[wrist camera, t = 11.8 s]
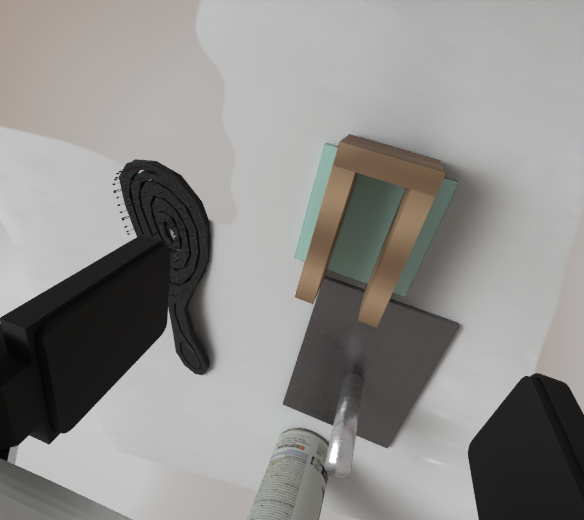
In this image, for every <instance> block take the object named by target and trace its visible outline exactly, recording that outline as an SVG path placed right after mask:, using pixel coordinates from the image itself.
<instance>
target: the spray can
mask: <svg viewBox="0 0 584 520" xmlns="http://www.w3.org/2000/svg"><path fill="white" fill-rule="evenodd" d="M328 447H329V445H328V443H327V442H326V441H325V440H324V439H323V438H322V437H321V436H319V435H317V434H316V433H314V432H312V431H309V430H306V429H290V430H287V431H285V432H284V433H283V434H282V435H281V437H280V438H279V440H278V442H277V444H276V447H275V449H274V452H273V455H272V457H271V460H270V462H269V465H268V467H267V470H266V473H265V475H264V478H263V480H262V483H261V486H260V488H259V491H258V493H257V496H256V498H255V501H254V504H253V506H252V509H251V511H250V514H249V517H248V519H247V520H319V516H320V512H321V507H322V503H323V498H324V493H325V488H326V483H327V480H328V475H329V474H328V473H327V472H326V470H325V468H324V464H325V460H326V455H327V451H328Z"/></svg>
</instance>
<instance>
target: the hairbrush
mask: <svg viewBox="0 0 584 520" xmlns="http://www.w3.org/2000/svg"><path fill="white" fill-rule="evenodd" d="M140 170H144V171H143V172H141V173H139V174H138V172H139V171H140ZM119 172H121V174H120V176H119V180H120V184H121V189H122V190H121V189H120V190H121V191H122V193H123V198H124V202H125V206H126V209H127V210H126V211H128V214H129V216H130V219H131V222H132V224H133V228H134V230H135V232H136V235H137V237H138V236H140V235H143V234H147V235H149V236H152V237H155V238H158V239H161V240H164V241H165V242H166V245H167V248H169V249H170V250H171V261H170V279H169V296H168V308H169V313H170V318H171V324H172V329H173V335H174V341H175V348H176V352H177V354H178V356H179V357H180V359H181V360H182V362H183V364H184V365H185V366H186V367H187V368H189V369H190V370H191V371H192V372H194V373H195V374H199V375H203V374H204V373H205V372H206V369H207V366H208V367H209V360H208V357H207V355H206V352H205V350H204V348H203V346H202V344H201V343H200V341H199V339H198V337H197V335H196V334H195V332H194V328H193V324H192V320H191V317H190V313H189V309H188V304H189V302H190V299H191V297H192V294H193V292H194V289H195V288H196V286H197V285H198V283H199V281H200V280H201V278H202V277H203V276H202V275H204V274H203V273H205V272H204V271H206V269H205V268H206V267H207V264H208V262H209V253H210V231H209V229H210V227H209V222H208V217H207V214H206V211H205V209H204V206H203V203H202V201H201V200H200V199H199V197H198V196H197V195H196V194H195V192H194V191H193V190H192V189H191V187H190V186H189V185H188V183H187V182H186V181H185V180H184V178H183V177H182V176H181V175H180V174H178V173H176V172H174V171H173V170H171V169H169V168H167V167H166V166H164V165H162V164H160V163H159V162H157V161H147V160H134V161H132V162H130V163H127V164H126V165H125V167H124V169H123V170H122V171H119ZM116 174H119V173H116ZM115 178H116V179H114V180H115V181H116V180H117V178H118V177H115ZM150 179H152V180H151V181H147V180H150ZM146 181H147V182H146ZM113 185H115V184H113ZM116 191H117V192H118V190H114V193H116ZM156 196H158V197H156ZM121 197H122V196H121ZM116 198H119V197H116ZM123 204H124V203H123ZM120 205H121V204H118V206H120ZM120 213H122V212H120ZM129 216H127V217H129ZM124 218H126V217H124ZM126 219H127V218H126ZM122 220H124V219H123V218H122ZM167 223H168V225H169V226H170V228H171V229H172V231H173V232H174V234H175V236H176V237H174V239H175V240H174V241H173V239H172V237H173V236H172V237H171V235H170V233H169V231H168V230H167V229H168V228H167V226H166V225H167ZM126 227H127V226H125V227H124V228H126ZM130 231H131V230H130ZM127 232H128V231H127ZM174 234H173V235H174ZM128 235H129V233H128ZM181 247H182V249H181V250H180V251H178V250H177V249H180V248H181ZM190 256H191V257H190ZM199 256H200V257H199ZM189 259H190V260H189ZM187 263H188V265H186V264H187ZM185 265H186V267H185V268H184V266H185ZM196 267H197V269H196ZM195 270H196V273H195V274H194V272H195ZM193 274H194V275H193ZM191 276H193V277H192V278H191V279H189V280H187V279H188V278H190V277H191ZM186 280H187V281H186Z"/></svg>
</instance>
